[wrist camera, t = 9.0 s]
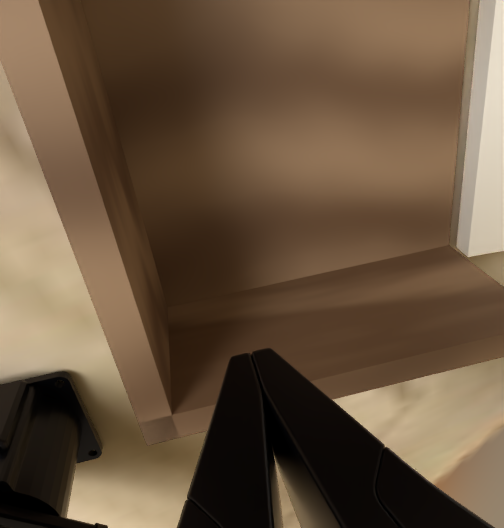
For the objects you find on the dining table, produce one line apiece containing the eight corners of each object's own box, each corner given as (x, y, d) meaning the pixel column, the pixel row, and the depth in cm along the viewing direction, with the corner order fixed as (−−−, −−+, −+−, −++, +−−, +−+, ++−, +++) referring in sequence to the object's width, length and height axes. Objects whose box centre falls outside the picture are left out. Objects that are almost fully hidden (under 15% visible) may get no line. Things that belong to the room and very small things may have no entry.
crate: (437, 256, 25) (544, 346, 18) (149, 320, 24) (147, 445, 17) (474, -261, 15) (740, -495, 8) (-16, -207, 14) (-190, -440, 7)
